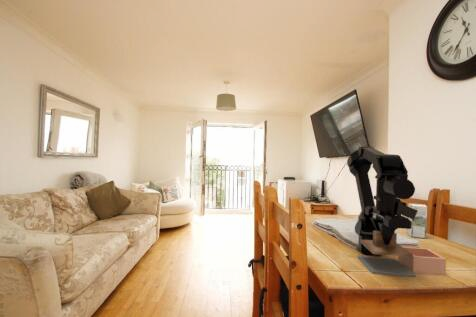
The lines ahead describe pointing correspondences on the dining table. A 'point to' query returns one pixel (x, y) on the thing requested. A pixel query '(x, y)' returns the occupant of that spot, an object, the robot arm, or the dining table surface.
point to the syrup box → (418, 221)
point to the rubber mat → (385, 266)
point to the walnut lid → (385, 246)
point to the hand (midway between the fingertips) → (384, 243)
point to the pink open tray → (423, 261)
